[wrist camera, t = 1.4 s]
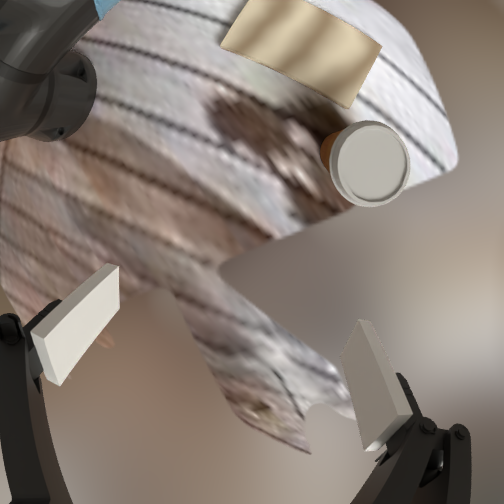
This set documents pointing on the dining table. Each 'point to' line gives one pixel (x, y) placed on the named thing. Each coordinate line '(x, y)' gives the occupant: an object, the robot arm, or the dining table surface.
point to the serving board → (304, 46)
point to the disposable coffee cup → (367, 163)
